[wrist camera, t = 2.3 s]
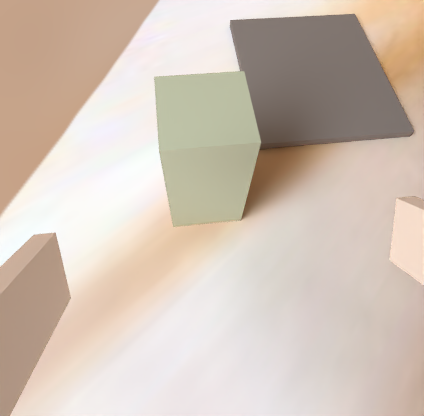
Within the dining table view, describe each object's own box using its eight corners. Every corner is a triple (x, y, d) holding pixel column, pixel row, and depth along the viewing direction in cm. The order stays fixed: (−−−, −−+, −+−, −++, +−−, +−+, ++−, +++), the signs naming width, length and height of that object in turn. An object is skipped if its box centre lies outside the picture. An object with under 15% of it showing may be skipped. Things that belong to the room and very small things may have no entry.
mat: (352, 20, 43) (354, 13, 42) (409, 136, 34) (414, 131, 34) (229, 26, 41) (230, 20, 41) (258, 149, 33) (259, 143, 32)
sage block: (230, 164, 32) (244, 71, 22) (240, 220, 29) (261, 142, 20) (168, 169, 32) (154, 76, 22) (173, 227, 29) (159, 150, 19)
